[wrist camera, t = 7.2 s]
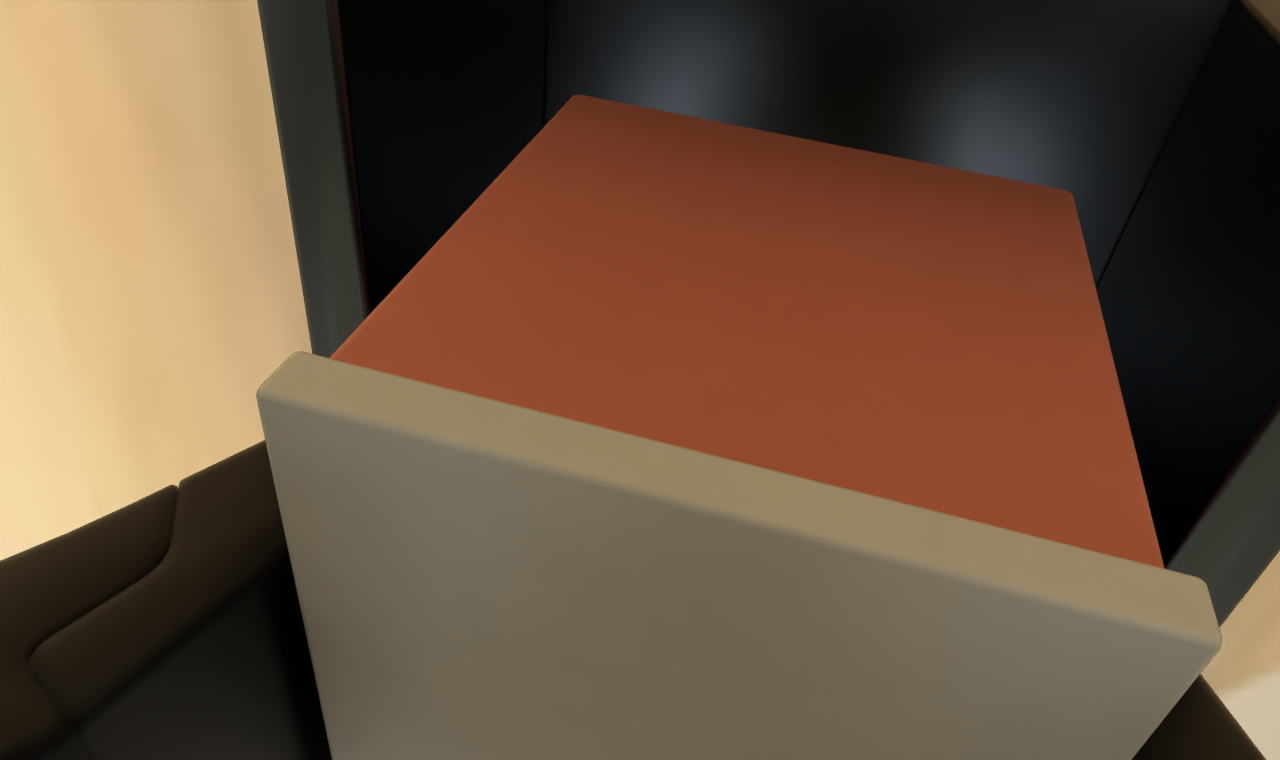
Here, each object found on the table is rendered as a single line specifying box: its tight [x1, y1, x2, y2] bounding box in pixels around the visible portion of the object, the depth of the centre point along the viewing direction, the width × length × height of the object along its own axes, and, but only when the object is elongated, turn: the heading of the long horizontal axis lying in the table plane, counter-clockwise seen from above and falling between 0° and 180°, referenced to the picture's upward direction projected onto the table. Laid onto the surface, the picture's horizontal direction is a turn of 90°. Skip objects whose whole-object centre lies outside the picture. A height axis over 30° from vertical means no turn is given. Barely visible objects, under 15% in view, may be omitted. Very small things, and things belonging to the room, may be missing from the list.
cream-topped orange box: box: [256, 94, 1222, 760], centre depth 8 cm, size 5×5×5 cm
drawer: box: [257, 0, 1280, 628], centre depth 10 cm, size 15×11×7 cm
